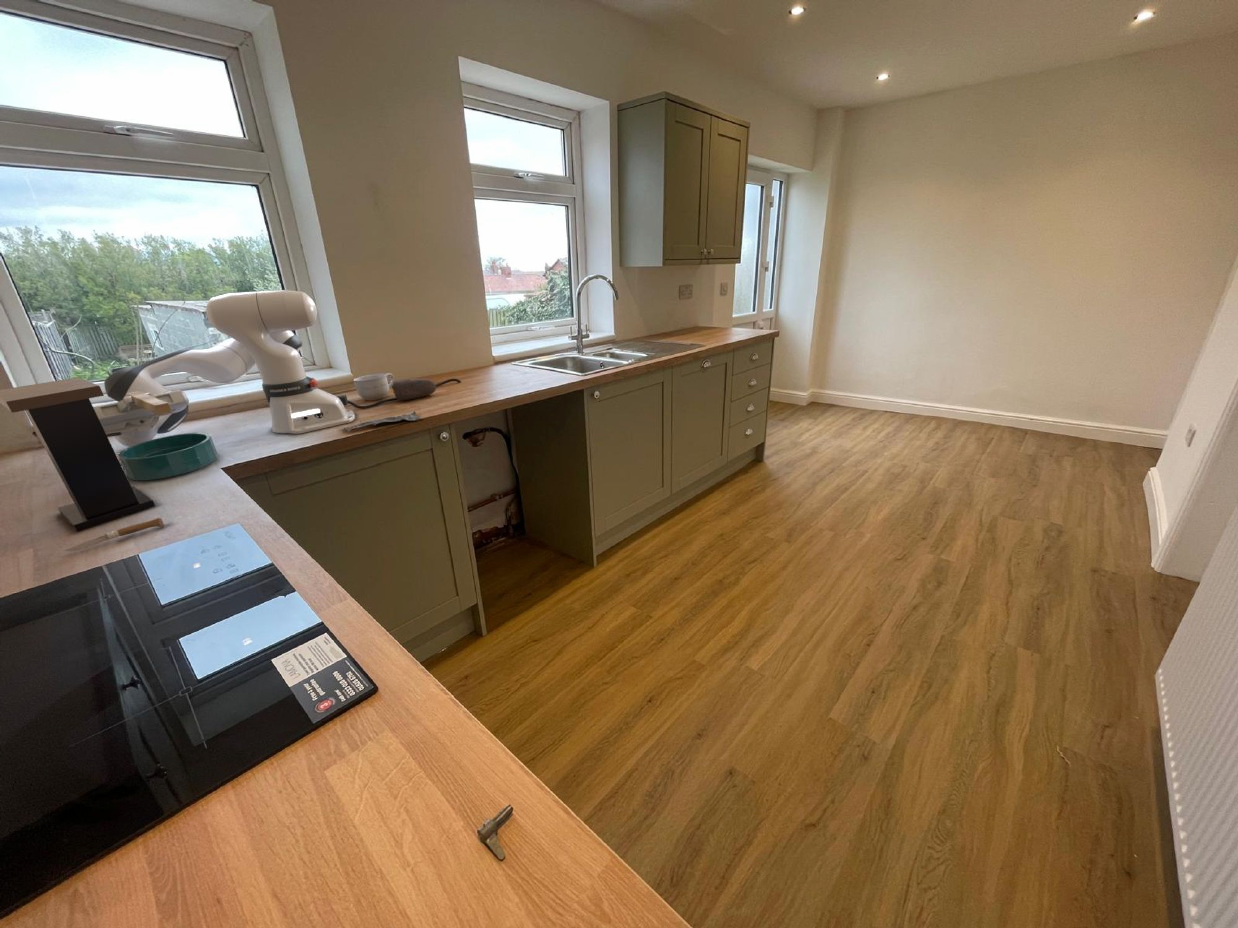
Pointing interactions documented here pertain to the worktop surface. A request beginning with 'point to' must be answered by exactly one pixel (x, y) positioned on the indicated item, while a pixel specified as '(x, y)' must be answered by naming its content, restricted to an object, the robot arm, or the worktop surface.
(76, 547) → the folding knife
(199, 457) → the bowl
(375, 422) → the driftwood
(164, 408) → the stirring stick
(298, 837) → the worktop surface
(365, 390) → the teacup
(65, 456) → the black slanted stand
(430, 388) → the grey rounded oblong body
